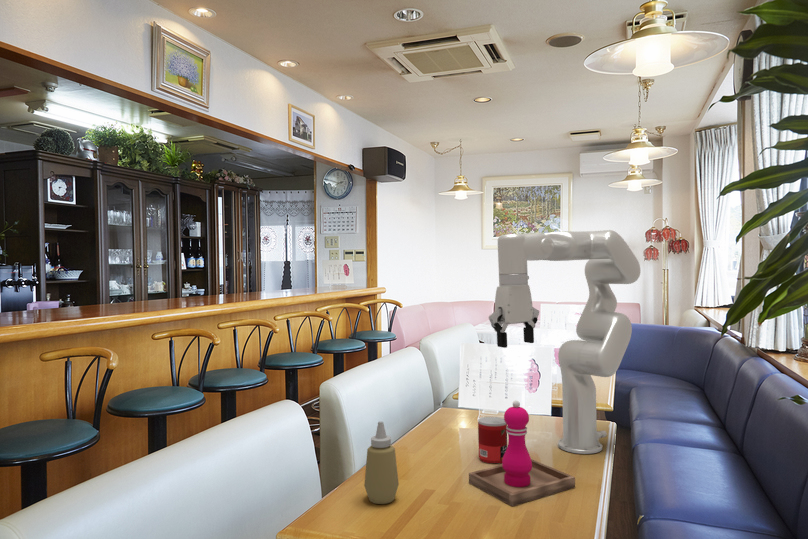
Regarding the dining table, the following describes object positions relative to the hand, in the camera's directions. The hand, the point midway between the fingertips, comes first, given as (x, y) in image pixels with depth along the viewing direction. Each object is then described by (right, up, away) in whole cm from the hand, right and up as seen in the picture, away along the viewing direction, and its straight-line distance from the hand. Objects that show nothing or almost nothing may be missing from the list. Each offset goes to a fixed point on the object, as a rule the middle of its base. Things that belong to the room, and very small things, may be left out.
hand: (515, 344), depth 146 cm
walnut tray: (-1, -33, -11) cm, 35 cm away
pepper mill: (-2, -32, -12) cm, 34 cm away
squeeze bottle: (-35, -34, -19) cm, 52 cm away
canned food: (-5, -33, +7) cm, 34 cm away
